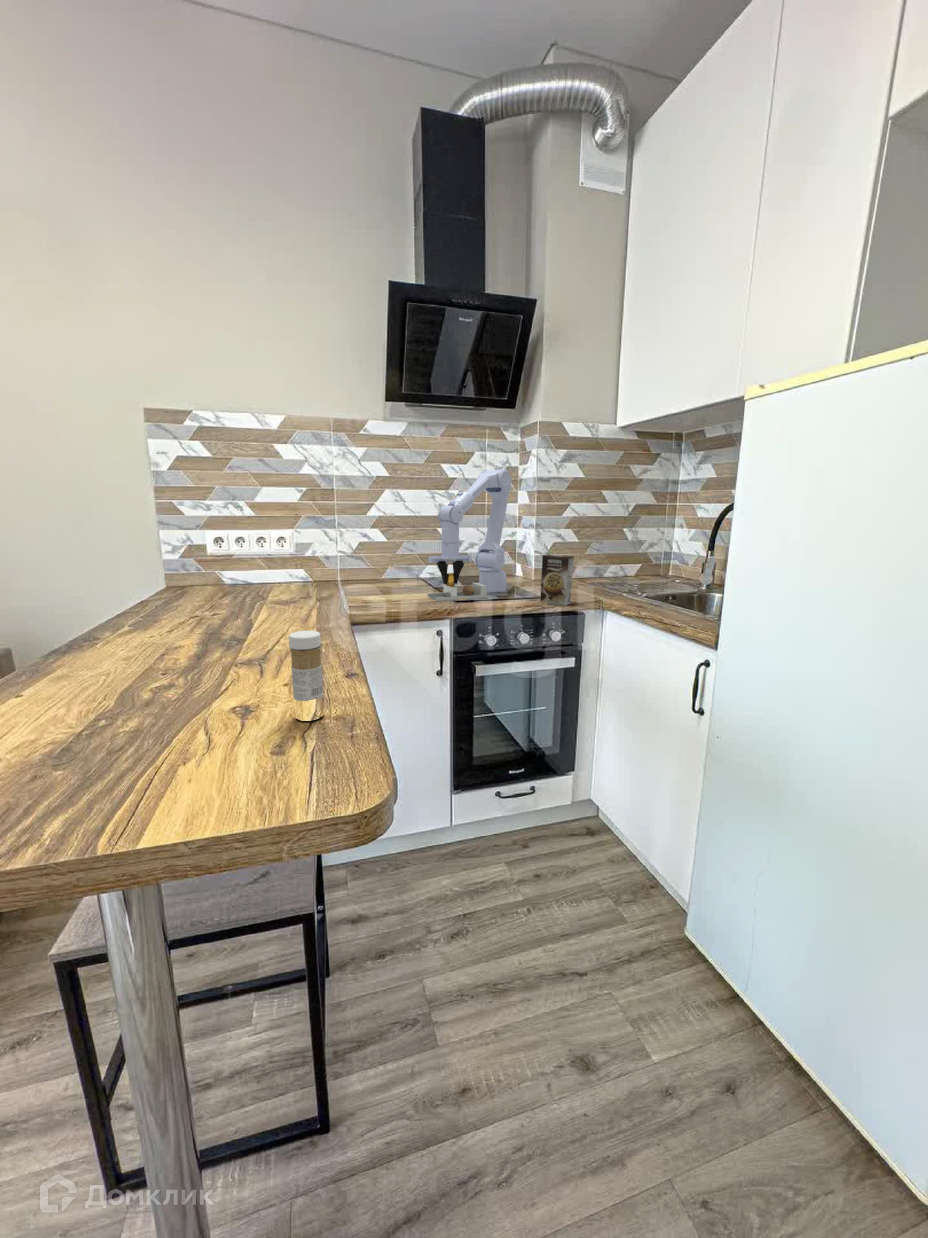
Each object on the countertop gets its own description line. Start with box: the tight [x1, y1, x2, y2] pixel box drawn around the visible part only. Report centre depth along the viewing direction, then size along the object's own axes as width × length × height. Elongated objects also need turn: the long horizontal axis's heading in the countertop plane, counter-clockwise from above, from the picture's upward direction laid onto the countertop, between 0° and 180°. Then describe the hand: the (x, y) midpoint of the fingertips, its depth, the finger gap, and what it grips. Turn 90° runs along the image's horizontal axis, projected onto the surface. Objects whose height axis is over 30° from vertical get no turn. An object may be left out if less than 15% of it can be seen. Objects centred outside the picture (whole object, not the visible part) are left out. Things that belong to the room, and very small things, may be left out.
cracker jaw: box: [443, 572, 458, 597], centre depth 176 cm, size 3×8×8 cm, turn 20°
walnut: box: [461, 584, 474, 596], centre depth 178 cm, size 4×4×4 cm
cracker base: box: [426, 582, 488, 602], centre depth 177 cm, size 18×11×6 cm, turn 110°
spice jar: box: [288, 630, 324, 701], centre depth 80 cm, size 5×5×14 cm
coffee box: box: [539, 554, 575, 607], centre depth 174 cm, size 9×6×16 cm
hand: (450, 583), depth 176 cm, fingers closed on cracker jaw, 3 cm apart
